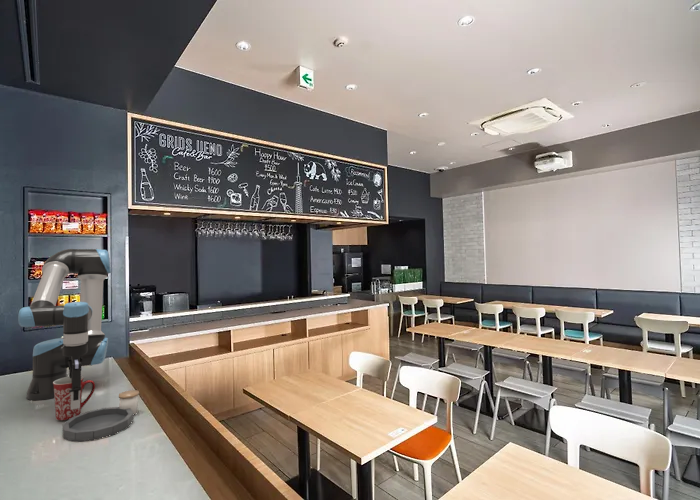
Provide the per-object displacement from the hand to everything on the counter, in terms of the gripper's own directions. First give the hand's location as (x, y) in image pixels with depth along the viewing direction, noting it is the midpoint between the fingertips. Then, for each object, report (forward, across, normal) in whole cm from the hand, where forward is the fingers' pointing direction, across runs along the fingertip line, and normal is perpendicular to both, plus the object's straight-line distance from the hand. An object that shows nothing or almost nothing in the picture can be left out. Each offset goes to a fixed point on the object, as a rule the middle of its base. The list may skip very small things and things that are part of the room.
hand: (74, 404), depth 136 cm
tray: (+4, +16, +6) cm, 18 cm away
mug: (+4, 0, 0) cm, 4 cm away
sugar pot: (+4, +10, +16) cm, 20 cm away
